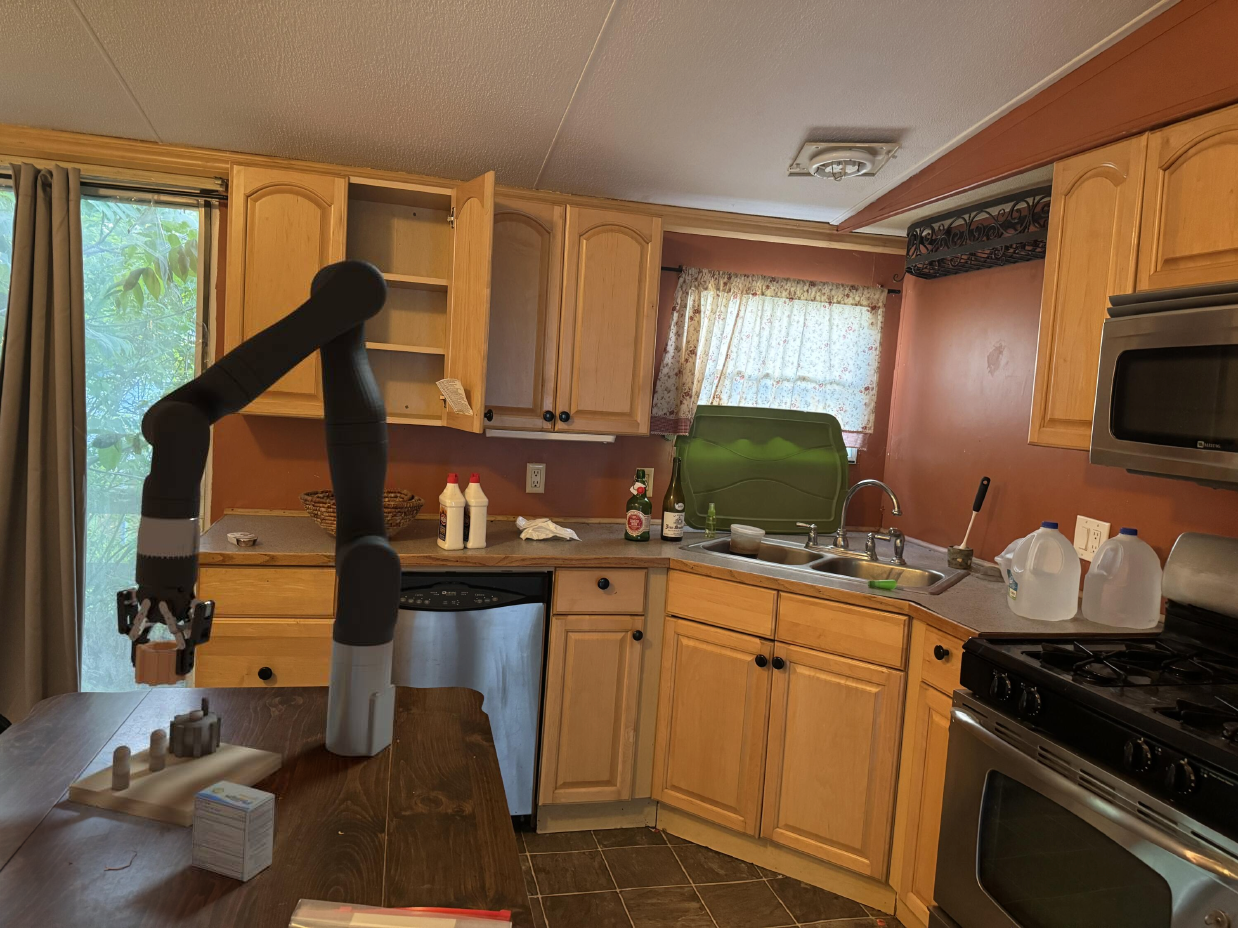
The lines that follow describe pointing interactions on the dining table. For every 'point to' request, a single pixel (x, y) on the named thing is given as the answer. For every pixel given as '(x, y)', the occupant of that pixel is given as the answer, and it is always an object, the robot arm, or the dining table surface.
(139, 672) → the loose gear
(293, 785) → the dining table surface
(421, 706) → the dining table surface
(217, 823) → the medicine box
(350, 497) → the robot arm
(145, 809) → the gear board
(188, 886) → the dining table surface
